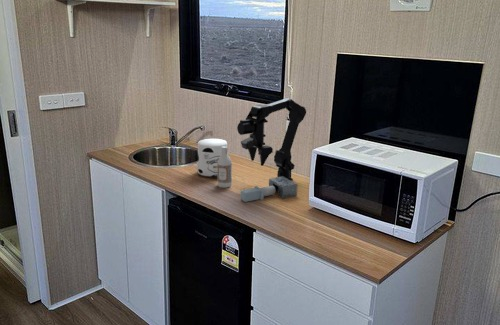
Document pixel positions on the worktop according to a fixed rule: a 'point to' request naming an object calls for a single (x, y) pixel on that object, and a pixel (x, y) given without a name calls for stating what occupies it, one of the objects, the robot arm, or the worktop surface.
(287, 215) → the worktop surface
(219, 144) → the milk container
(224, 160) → the bath foam
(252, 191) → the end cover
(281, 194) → the block
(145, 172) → the worktop surface
